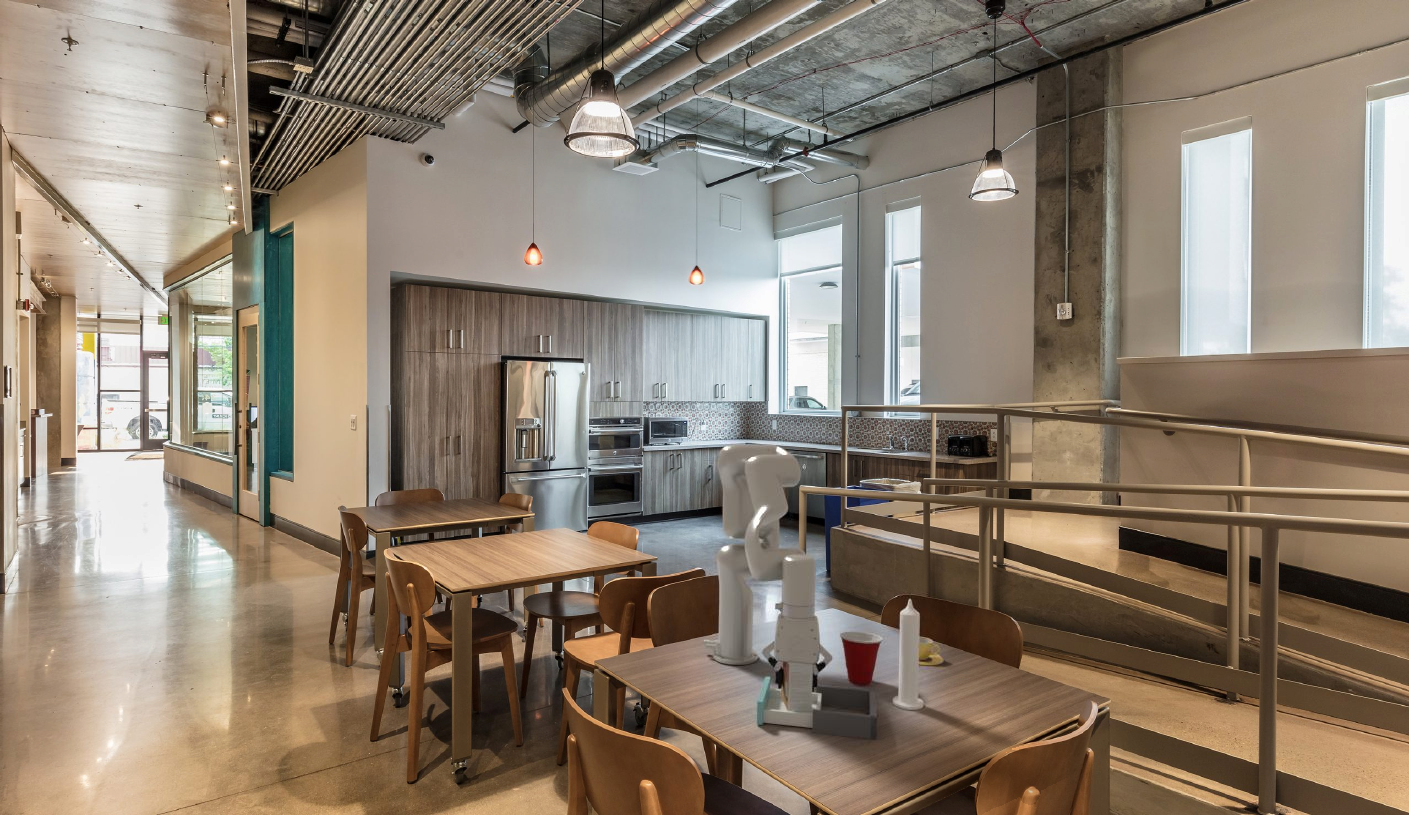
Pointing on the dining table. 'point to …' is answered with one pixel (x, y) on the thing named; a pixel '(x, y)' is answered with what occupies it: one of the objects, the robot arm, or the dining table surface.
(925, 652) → the cup
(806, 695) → the small box
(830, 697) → the bay
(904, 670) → the candle
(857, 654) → the plastic cup
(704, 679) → the dining table surface
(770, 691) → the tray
